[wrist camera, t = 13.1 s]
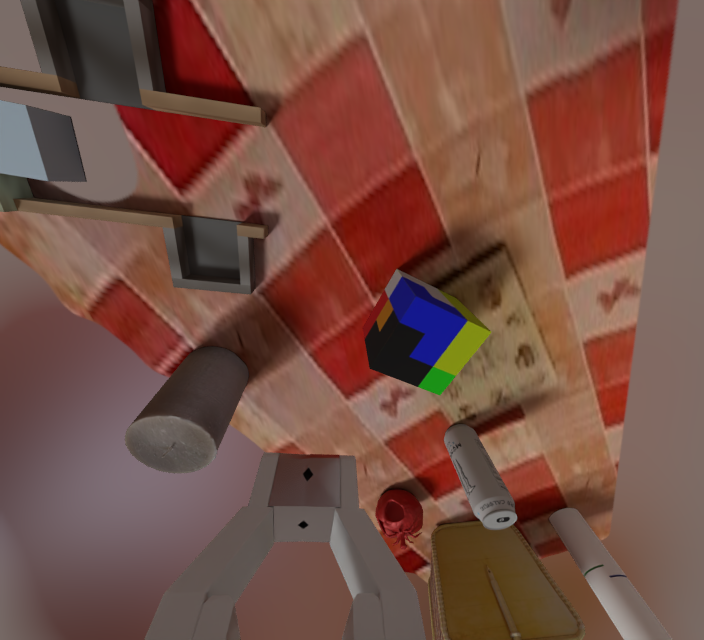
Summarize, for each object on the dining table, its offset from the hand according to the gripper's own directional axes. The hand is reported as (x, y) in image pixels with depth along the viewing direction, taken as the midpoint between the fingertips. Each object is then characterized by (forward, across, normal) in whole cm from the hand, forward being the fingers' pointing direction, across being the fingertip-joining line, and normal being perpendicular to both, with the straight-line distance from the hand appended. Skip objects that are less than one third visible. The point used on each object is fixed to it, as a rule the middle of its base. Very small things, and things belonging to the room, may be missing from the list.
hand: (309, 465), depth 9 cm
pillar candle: (+29, +16, +20) cm, 39 cm away
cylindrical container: (+29, -63, +58) cm, 91 cm away
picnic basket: (+29, -42, +73) cm, 89 cm away
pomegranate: (+29, -19, +52) cm, 63 cm away
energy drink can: (+29, -27, +31) cm, 50 cm away
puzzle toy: (+29, -12, +7) cm, 33 cm away
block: (+29, +31, -9) cm, 43 cm away
